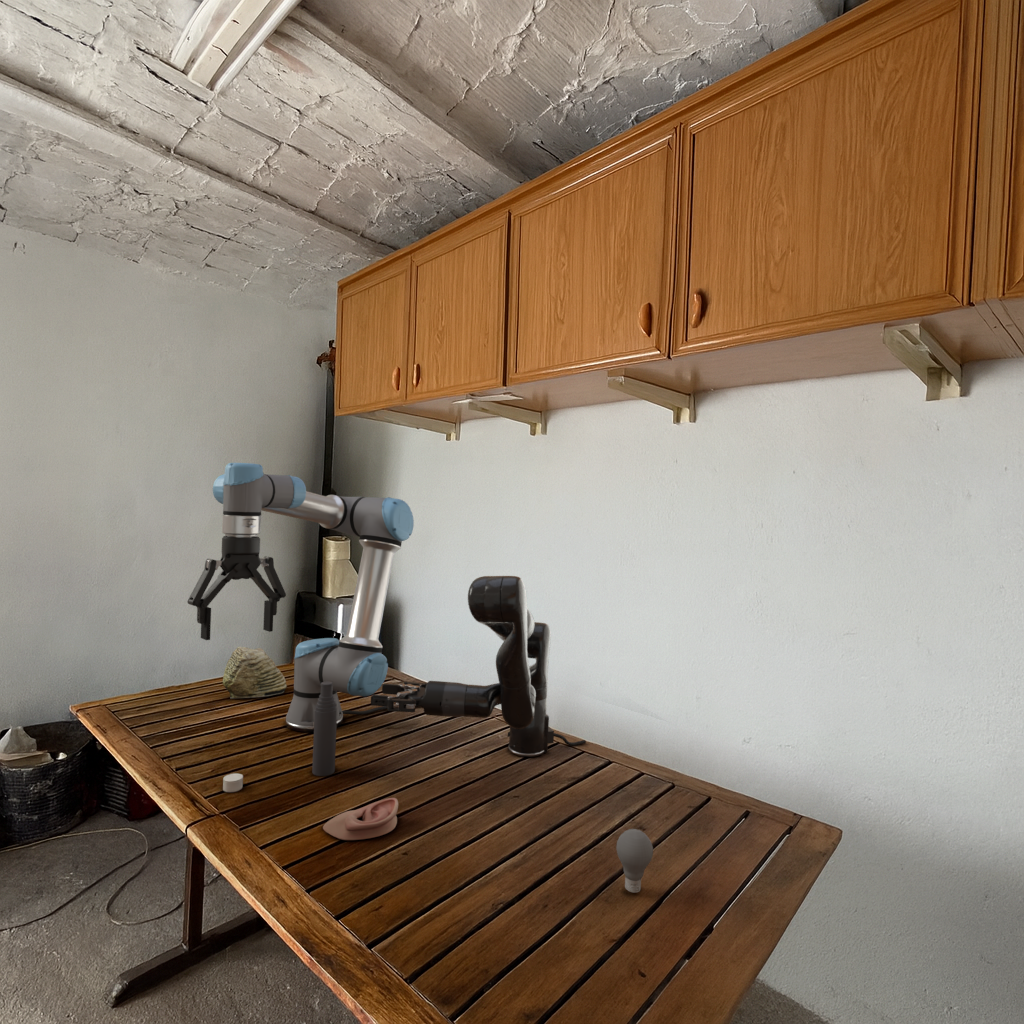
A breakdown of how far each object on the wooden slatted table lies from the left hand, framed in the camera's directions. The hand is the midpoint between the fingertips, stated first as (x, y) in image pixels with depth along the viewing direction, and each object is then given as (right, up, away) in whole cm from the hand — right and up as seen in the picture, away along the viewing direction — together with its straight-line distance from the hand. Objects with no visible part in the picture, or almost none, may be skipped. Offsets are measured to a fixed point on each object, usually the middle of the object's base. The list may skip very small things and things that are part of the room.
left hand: (237, 634), depth 135 cm
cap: (-1, -31, +1) cm, 31 cm away
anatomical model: (+29, -35, -13) cm, 47 cm away
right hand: (+28, -15, +9) cm, 33 cm away
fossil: (-22, -31, +63) cm, 73 cm away
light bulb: (+79, -37, -30) cm, 92 cm away
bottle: (+15, -34, +11) cm, 38 cm away
